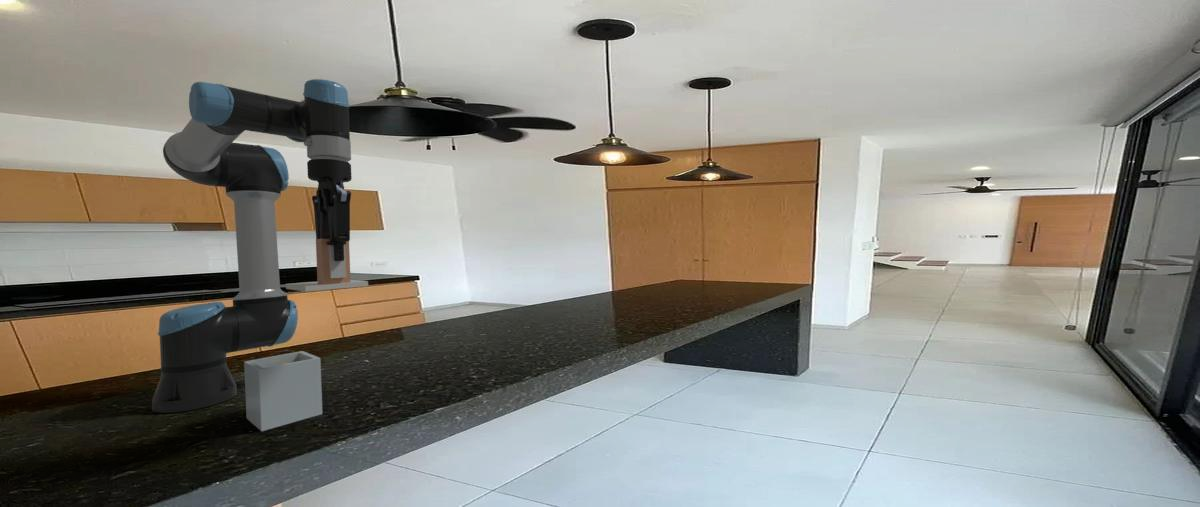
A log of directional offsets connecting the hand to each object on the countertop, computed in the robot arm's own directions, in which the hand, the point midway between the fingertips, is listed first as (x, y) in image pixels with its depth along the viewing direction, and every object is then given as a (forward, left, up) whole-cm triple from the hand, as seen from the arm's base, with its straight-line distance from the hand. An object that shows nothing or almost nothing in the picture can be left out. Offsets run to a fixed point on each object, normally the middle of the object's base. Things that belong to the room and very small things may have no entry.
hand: (334, 277), depth 88 cm
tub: (-17, -5, -31) cm, 35 cm away
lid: (-4, 0, -2) cm, 4 cm away
